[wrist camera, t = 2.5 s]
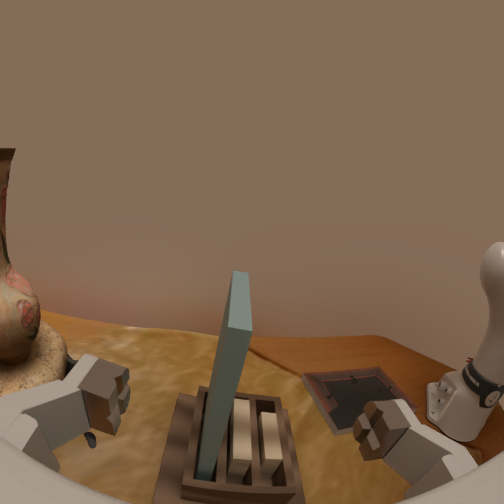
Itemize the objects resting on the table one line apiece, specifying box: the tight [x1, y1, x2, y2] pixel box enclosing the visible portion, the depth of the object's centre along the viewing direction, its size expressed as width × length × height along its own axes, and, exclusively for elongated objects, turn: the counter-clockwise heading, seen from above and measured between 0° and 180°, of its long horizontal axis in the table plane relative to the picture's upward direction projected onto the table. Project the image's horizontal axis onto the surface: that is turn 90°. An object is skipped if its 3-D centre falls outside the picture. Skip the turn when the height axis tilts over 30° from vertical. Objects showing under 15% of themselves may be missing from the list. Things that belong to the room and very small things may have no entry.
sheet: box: [195, 270, 253, 482], centre depth 26 cm, size 12×2×24 cm, turn 2°
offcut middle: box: [226, 398, 252, 485], centre depth 28 cm, size 10×2×7 cm, turn 2°
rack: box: [153, 386, 306, 504], centre depth 28 cm, size 22×18×6 cm
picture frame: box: [301, 367, 418, 436], centre depth 47 cm, size 16×2×22 cm
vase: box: [0, 148, 96, 448], centre depth 22 cm, size 24×22×35 cm
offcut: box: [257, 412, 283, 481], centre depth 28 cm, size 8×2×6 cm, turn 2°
